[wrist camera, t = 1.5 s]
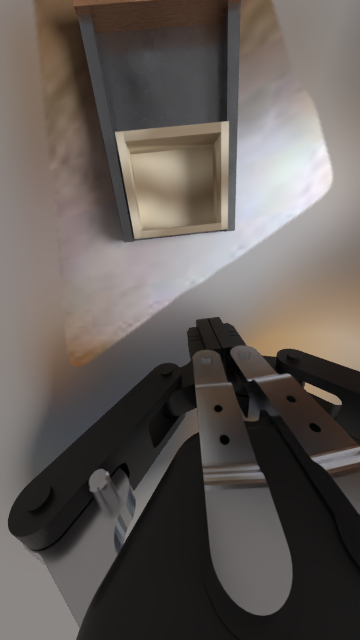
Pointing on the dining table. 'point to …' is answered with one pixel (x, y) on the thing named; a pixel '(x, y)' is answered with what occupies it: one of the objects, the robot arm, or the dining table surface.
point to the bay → (162, 74)
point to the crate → (176, 178)
